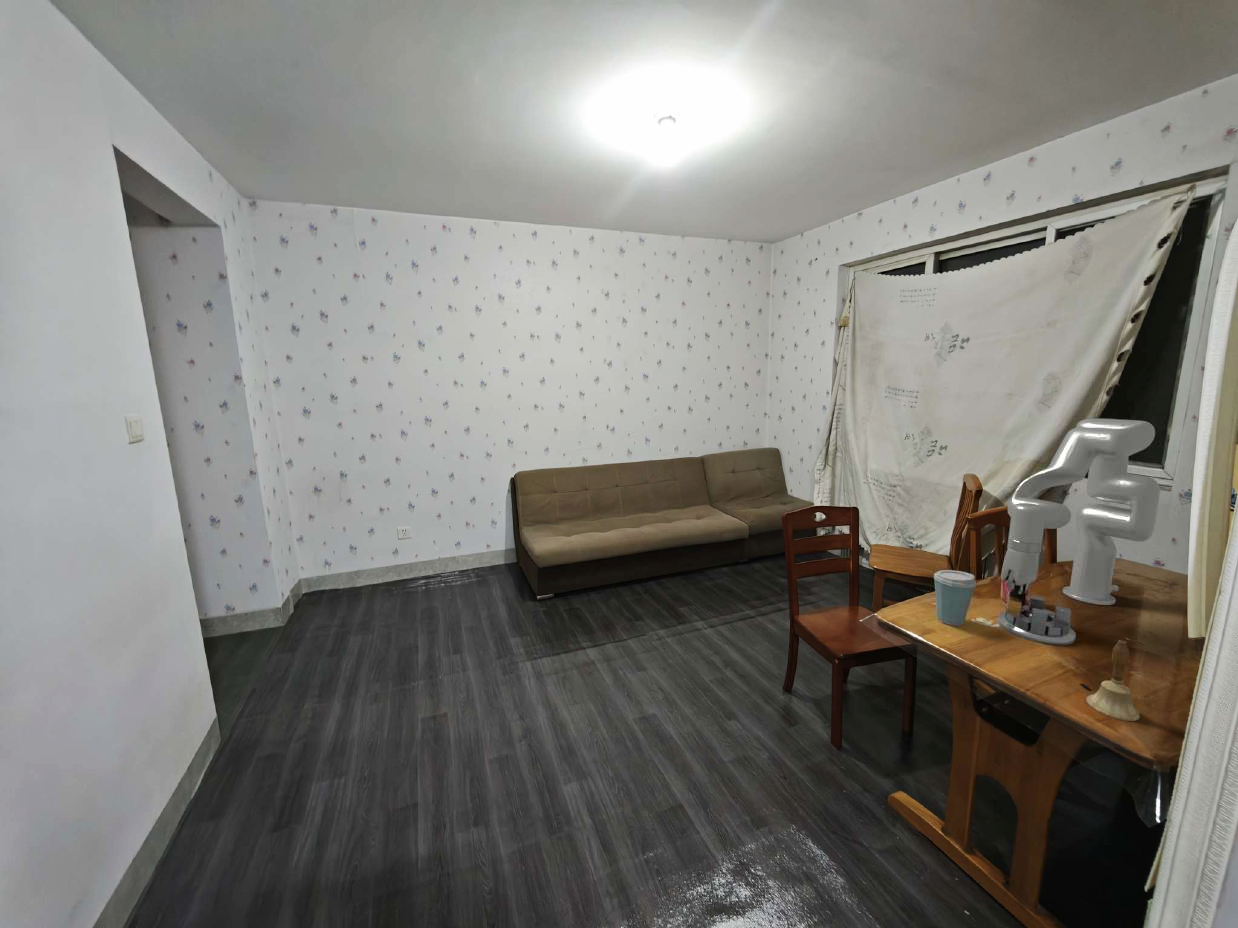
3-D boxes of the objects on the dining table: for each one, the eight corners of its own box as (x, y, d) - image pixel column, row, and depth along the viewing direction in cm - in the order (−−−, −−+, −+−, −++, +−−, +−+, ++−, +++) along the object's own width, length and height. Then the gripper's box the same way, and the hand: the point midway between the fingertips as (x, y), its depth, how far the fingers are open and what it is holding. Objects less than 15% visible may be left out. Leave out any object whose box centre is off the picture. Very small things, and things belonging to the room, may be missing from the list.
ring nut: (1004, 608, 150) (1006, 590, 149) (1065, 621, 141) (1068, 602, 140) (1005, 626, 139) (1007, 606, 138) (1071, 641, 130) (1074, 620, 129)
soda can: (1017, 597, 161) (1021, 563, 159) (1033, 606, 154) (1038, 571, 152) (994, 596, 162) (998, 562, 160) (1009, 606, 155) (1013, 570, 153)
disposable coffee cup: (925, 621, 146) (930, 574, 143) (933, 609, 153) (937, 564, 151) (968, 633, 138) (974, 583, 136) (974, 619, 146) (979, 572, 144)
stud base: (1028, 613, 150) (1030, 597, 149) (1091, 641, 134) (1094, 624, 133) (983, 619, 147) (985, 603, 146) (1042, 648, 130) (1044, 631, 129)
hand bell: (1128, 725, 101) (1140, 655, 98) (1078, 702, 108) (1088, 636, 106) (1147, 714, 104) (1160, 646, 102) (1097, 692, 112) (1108, 628, 109)
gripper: (1024, 538, 148) (1016, 594, 151) (994, 545, 142) (987, 604, 145) (1054, 545, 141) (1045, 604, 144) (1024, 553, 135) (1016, 614, 138)
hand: (1016, 604), depth 144 cm, fingers closed
